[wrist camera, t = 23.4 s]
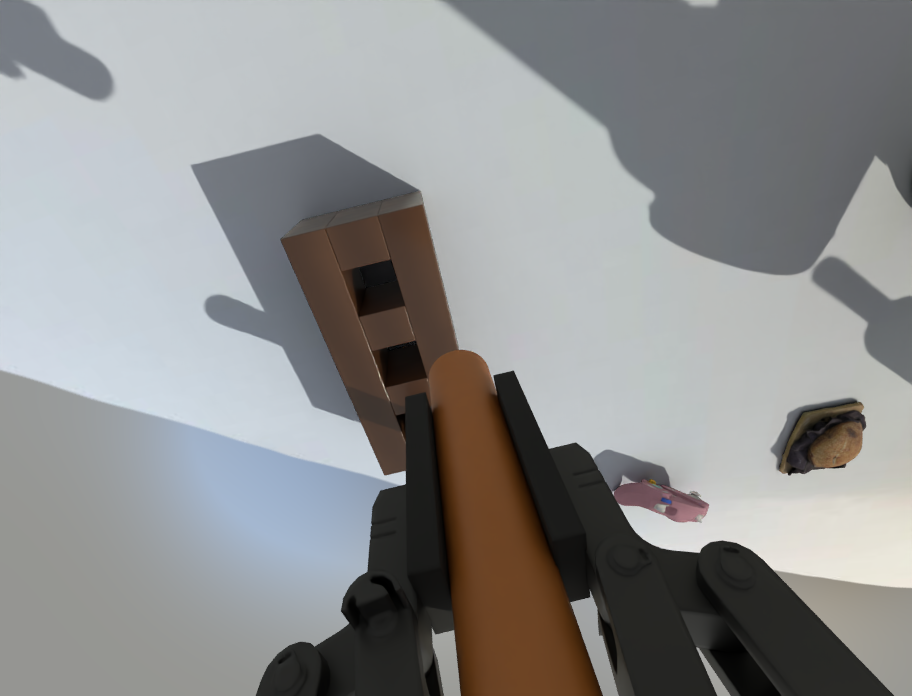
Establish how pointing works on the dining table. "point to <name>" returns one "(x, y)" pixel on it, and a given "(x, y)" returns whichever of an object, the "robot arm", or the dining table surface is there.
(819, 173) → the dining table surface
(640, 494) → the video game controller
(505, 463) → the amber tube
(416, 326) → the rack
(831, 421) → the bread roll
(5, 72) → the dining table surface
